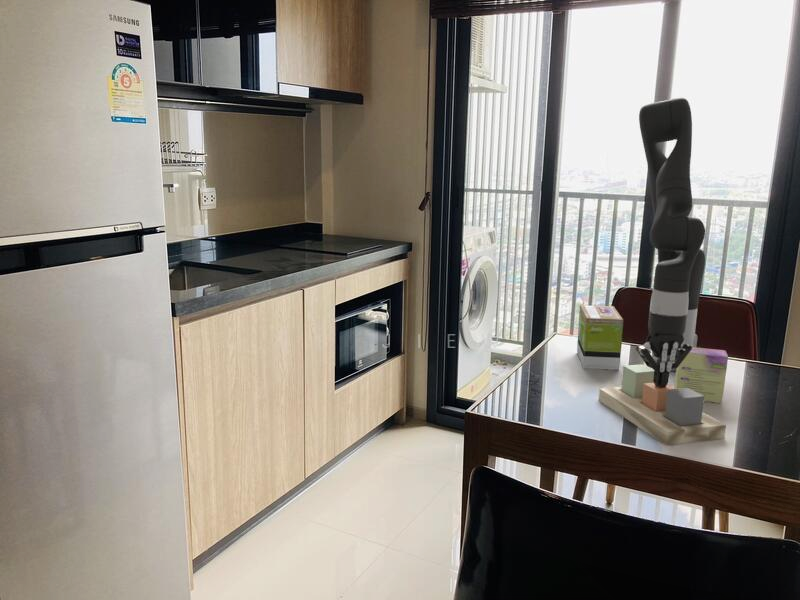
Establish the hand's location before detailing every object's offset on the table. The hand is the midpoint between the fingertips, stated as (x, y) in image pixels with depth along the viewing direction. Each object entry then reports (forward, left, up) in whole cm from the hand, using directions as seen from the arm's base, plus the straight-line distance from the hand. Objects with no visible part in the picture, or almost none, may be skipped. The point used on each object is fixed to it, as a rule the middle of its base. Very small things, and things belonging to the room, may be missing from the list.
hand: (660, 386), depth 144 cm
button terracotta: (0, 0, -7) cm, 7 cm away
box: (-18, -9, -8) cm, 22 cm away
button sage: (0, -8, -5) cm, 9 cm away
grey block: (0, +8, -5) cm, 9 cm away
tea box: (-9, -39, -8) cm, 41 cm away
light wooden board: (0, 0, -8) cm, 8 cm away
